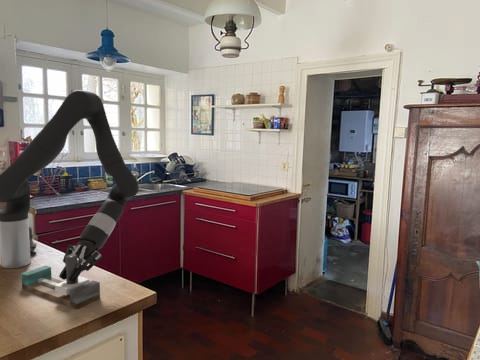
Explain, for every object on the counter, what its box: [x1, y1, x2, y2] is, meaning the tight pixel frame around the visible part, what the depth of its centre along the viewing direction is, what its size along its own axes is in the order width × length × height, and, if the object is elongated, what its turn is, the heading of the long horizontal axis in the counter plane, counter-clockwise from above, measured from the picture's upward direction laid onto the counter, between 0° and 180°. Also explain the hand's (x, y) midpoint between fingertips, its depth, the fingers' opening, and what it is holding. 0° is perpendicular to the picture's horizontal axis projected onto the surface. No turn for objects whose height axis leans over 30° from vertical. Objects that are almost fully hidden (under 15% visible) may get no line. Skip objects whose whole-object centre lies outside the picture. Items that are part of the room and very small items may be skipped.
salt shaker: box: [29, 226, 37, 257], centre depth 145 cm, size 6×6×12 cm
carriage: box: [55, 255, 90, 295], centre depth 108 cm, size 5×8×10 cm, turn 152°
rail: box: [20, 265, 101, 310], centre depth 112 cm, size 26×8×5 cm, turn 62°
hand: (66, 279), depth 107 cm, fingers closed on carriage, 3 cm apart
